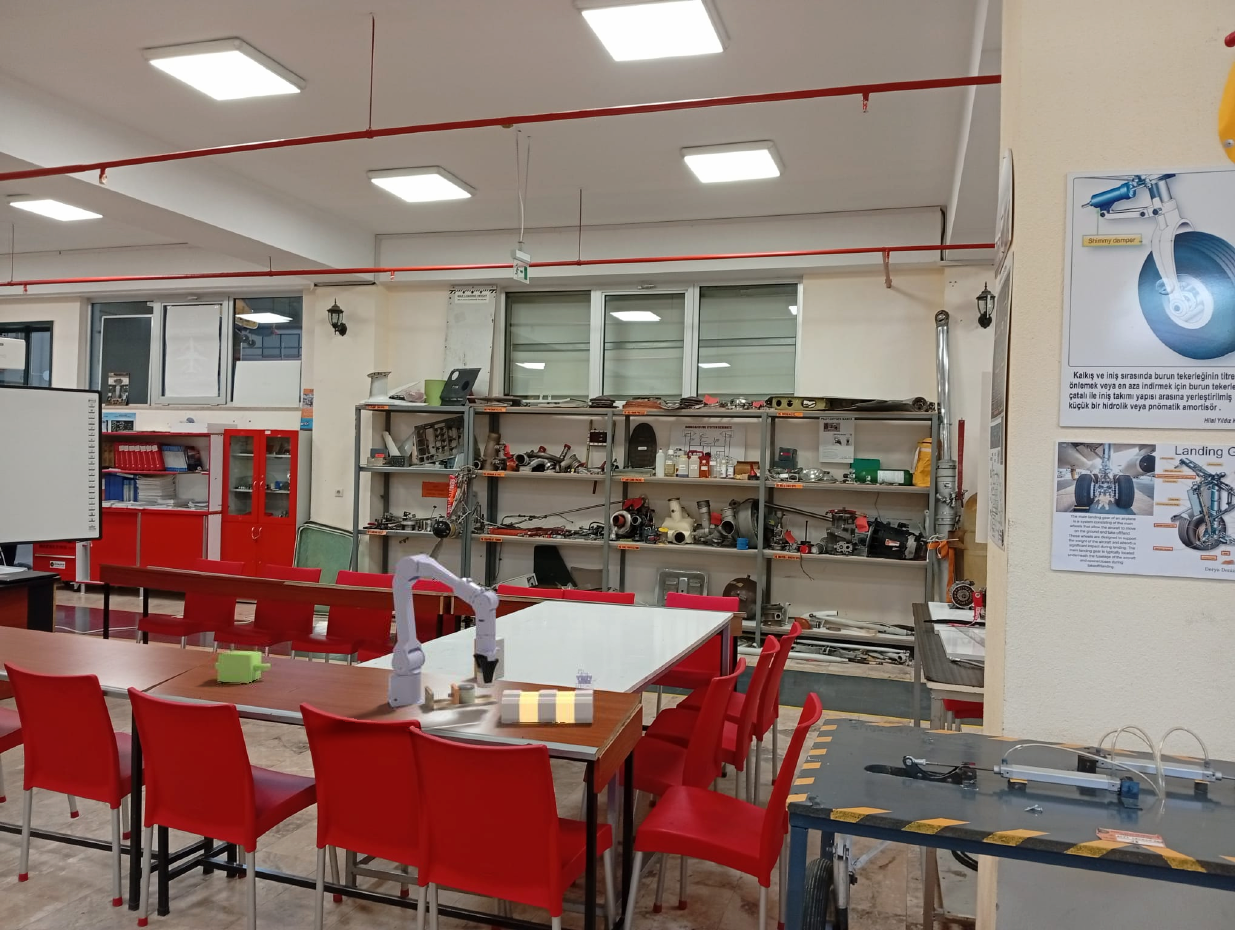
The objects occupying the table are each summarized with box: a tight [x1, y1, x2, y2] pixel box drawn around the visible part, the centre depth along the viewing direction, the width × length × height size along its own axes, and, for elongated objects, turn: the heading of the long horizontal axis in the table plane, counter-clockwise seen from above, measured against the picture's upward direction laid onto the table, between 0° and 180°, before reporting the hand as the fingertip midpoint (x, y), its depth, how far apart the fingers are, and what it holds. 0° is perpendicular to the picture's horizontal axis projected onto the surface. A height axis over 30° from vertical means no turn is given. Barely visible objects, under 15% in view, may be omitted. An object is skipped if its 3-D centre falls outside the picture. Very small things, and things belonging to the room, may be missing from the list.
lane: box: [424, 685, 500, 713], centre depth 258 cm, size 20×10×6 cm, turn 112°
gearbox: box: [214, 650, 271, 684], centre depth 290 cm, size 18×10×10 cm, turn 84°
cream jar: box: [476, 667, 496, 689], centre depth 253 cm, size 5×5×5 cm
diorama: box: [500, 669, 594, 724], centre depth 244 cm, size 25×10×13 cm, turn 90°
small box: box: [473, 636, 505, 680], centre depth 293 cm, size 8×6×13 cm
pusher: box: [447, 683, 459, 705], centre depth 257 cm, size 2×7×5 cm, turn 22°
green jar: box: [457, 683, 476, 704], centre depth 259 cm, size 5×5×5 cm
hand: (485, 680), depth 253 cm, fingers closed on cream jar, 5 cm apart
